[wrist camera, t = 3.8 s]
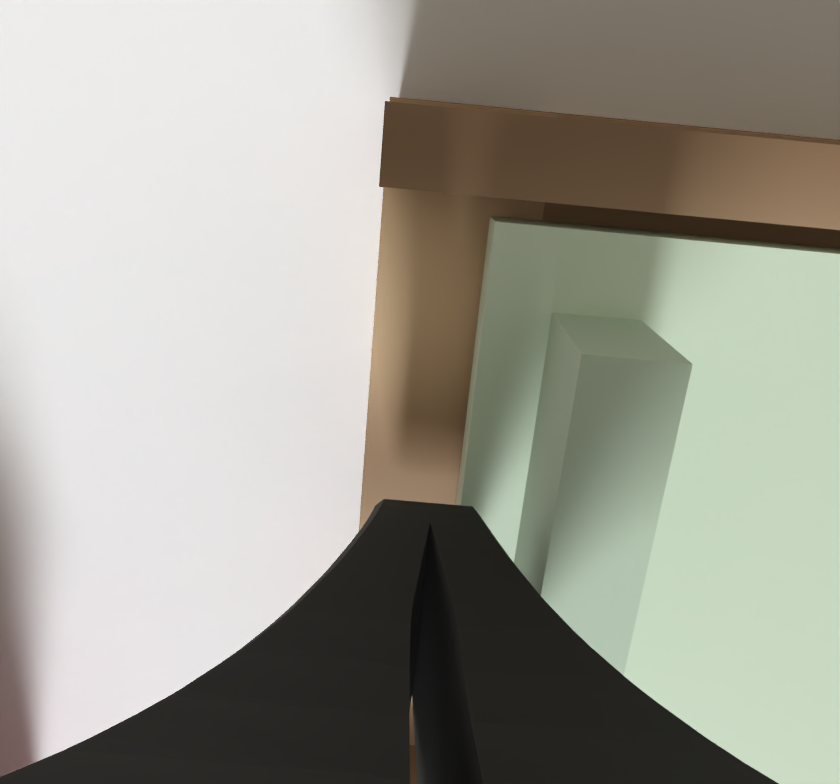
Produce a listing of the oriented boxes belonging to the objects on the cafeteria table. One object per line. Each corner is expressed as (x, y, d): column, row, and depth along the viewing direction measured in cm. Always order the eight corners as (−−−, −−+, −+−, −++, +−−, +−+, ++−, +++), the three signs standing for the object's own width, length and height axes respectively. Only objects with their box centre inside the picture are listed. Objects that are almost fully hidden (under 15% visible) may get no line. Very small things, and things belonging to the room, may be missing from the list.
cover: (868, 775, 13) (978, 934, 11) (427, 739, 13) (427, 891, 10) (1058, 268, 10) (1279, 313, 8) (490, 215, 10) (511, 242, 7)
